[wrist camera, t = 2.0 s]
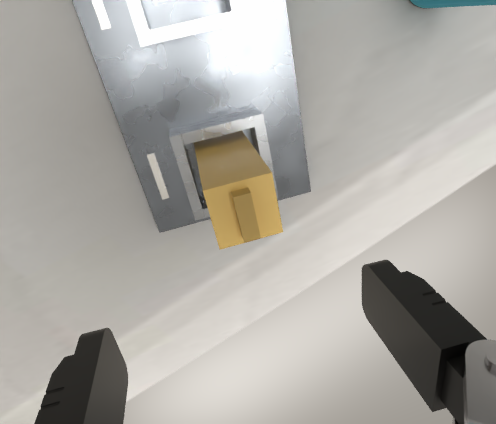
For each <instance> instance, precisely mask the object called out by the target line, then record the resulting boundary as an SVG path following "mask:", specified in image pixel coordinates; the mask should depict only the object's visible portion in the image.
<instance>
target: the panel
mask: <svg viewBox="0 0 496 424" xmlns="http://www.w3.org/2000/svg"><path fill="white" fill-rule="evenodd" d="M72 2H73V4H74V7H75V9H76V12H77V15H78V17H79V20H80V23H81V25H82V28H83V31H84V33H85V36H86V39H87V41H88V44H89V47H90V49H91V52H92V55H93V57H94V60H95V62H96V65H97V68H98V70H99V73H100V76H101V78H102V81H103V84H104V86H105V89H106V92H107V94H108V97H109V100H110V102H111V105H112V108H113V110H114V113H115V115H116V118H117V121H118V123H119V126H120V129H121V131H122V134H123V137H124V139H125V142H126V145H127V147H128V150H129V153H130V155H131V158H132V161H133V163H134V166H135V169H136V171H137V174H138V176H139V179H140V182H141V184H142V187H143V190H144V192H145V195H146V198H147V200H148V203H149V206H150V208H151V211H152V214H153V216H154V219H155V222H156V224H157V227H158V229H159V232H164V231H168V230H171V229H175V228H179V227H182V226H186V225H190V224H193V223H197V222H201V221H204V220H208V219H211V217H210V214H209V211H208V207H207V204H206V200H205V197H204V193H203V189H202V184H201V179H200V174H199V169H198V164H197V158H196V153H195V148H194V143H195V142H199V141H202V140H206V139H210V138H214V137H218V136H222V135H226V134H230V133H234V132H238V131H243V133H244V134H245V136H246V137H247V138H248V140H249V141H250V143H251V144H252V145H253V147H254V148H255V149H256V151H257V152H258V154H259V155H260V156H261V158H262V159H263V161H264V162H265V163H266V165H267V166H268V167H269V169H270V170H271V172H272V175H273V180H274V186H275V191H276V196H277V201H278V200H282V199H285V198H289V197H293V196H296V195H300V194H304V193H307V192H311V189H310V181H309V174H308V166H307V159H306V151H305V144H304V136H303V128H302V121H301V113H300V106H299V98H298V91H297V83H296V76H295V68H294V61H293V53H292V45H291V38H290V30H289V23H288V15H287V8H286V0H72Z"/></svg>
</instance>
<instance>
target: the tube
mask: <svg viewBox="0 0 496 424" xmlns="http://www.w3.org/2000/svg"><path fill="white" fill-rule="evenodd" d="M410 1H411V2H412V3H413V4H414V5H416V6H418V7H421V8H439V7H458V6H479V5H496V0H410Z"/></svg>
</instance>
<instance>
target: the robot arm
mask: <svg viewBox="0 0 496 424" xmlns="http://www.w3.org/2000/svg"><path fill="white" fill-rule="evenodd" d="M362 306H363V310H364V313H365V315H366V318H367V319H368V321H369V323H370V324H371V325H372V326H373V328H374V330H375V331H376V332H377V334H378V335H379V337H380V338H381V339H382V341H383V342H384V344H385V345H386V347H387V348H388V350H389V351H390V352H391V354H392V355H393V357H394V358H395V360H396V361H397V362H398V364H399V365H400V367H401V368H402V369H403V371H404V372H405V374H406V375H407V376H408V378H409V379H410V381H411V382H412V383H413V385H414V387H415V388H416V389H417V391H418V392H419V394H420V395H421V396H422V398H423V399H424V401H425V402H426V404H427V405H428V406H429V408H430V409H431V411H432V412H434V411H437V410H440V409H444V408H447V409H448V410H449V411H450V413H451V414H452V415H453V423H452V424H496V341H495V340H487V339H486V338H485V337H484V336H483V335H482V334H481V333H480V332H479V331H478V330H477V329H476V328H474V327H473V326H472V325H471V324H470V323H469V322H468V321H467V320H466V319H465V318H464V317H463V316H462V315H461V314H460V313H459V312H458V311H456V310H455V309H454V308H453V307H452V306H451V305H450V304H449V303H448V302H447V303H446V301H445V299H444V298H442V296H441V295H440V294H439V293H436V291H435V290H434V289H433V288H432V287H431V286H430V285H429V284H428V283H427V282H426V281H425V280H424V279H422V278H420V277H418V276H416V275H414V274H412V273H410V272H408V271H406V272H402V273H401V272H400V271H399V270H398V269H397V268H396V267H395V266H394V265H393V264H392V263H391V262H390V261H388V260H383V261H378V262H374V263H370V264H366V265H364V266H363V267H362ZM127 387H128V373H127V367H126V364H125V361H124V359H123V356H122V354H121V352H120V350H119V347H118V345H117V343H116V340H115V338H114V336H113V334H112V332H111V330H110V329H109V328H105V329H101V330H97V331H93V332H89V333H85V334H82V335H81V336H80V338H79V341H78V344H77V347H76V350H75V354H74V355H71V356H67V357H64V359H63V360H62V361H61V363H60V364H59V365H58V367H57V368H56V369H55V371H54V372H53V373H52V375H51V378H50V381H49V384H48V387H47V390H46V395H44V398H43V401H42V404H41V410H39V412H38V415H37V418H36V421H35V424H123V420H124V412H125V404H126V395H127Z"/></svg>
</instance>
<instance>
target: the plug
mask: <svg viewBox="0 0 496 424" xmlns="http://www.w3.org/2000/svg"><path fill="white" fill-rule="evenodd" d="M194 148H195V153H196V158H197V164H198V169H199V174H200V179H201V184H202V189H203V193H204V197H205V200H206V204H207V207H208V211H209V214H210V217H211V221H212V224H213V228H214V231H215V235H216V238H217V241H218V245H219V248H220V249H224V248H227V247H231V246H235V245H238V244H242V243H246V242H249V241H253V240H257V239H260V238H263V237H267V236H270V235H274V234H278V233H281V232H283V229H282V224H281V218H280V213H279V207H278V202H277V196H276V191H275V186H274V180H273V175H272V172H271V170H270V169H269V167H268V166H267V165H266V163H265V162H264V161H263V159H262V158H261V156H260V155H259V154H258V152H257V151H256V149H255V148H254V147H253V145H252V144H251V143H250V141H249V140H248V138H247V137H246V136H245V134H244V133H243V131H238V132H234V133H230V134H226V135H222V136H218V137H214V138H210V139H206V140H202V141H199V142H195V143H194Z"/></svg>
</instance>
